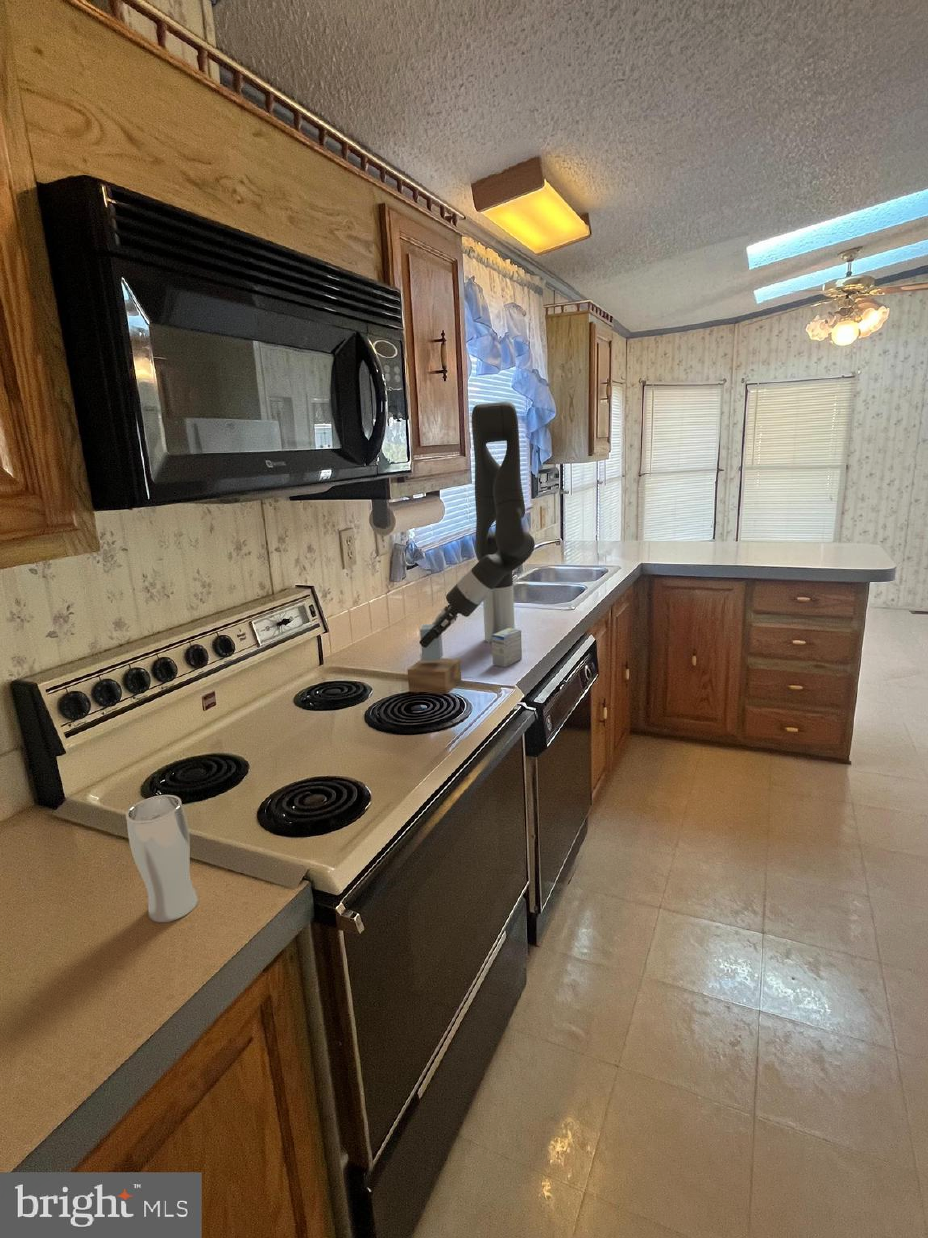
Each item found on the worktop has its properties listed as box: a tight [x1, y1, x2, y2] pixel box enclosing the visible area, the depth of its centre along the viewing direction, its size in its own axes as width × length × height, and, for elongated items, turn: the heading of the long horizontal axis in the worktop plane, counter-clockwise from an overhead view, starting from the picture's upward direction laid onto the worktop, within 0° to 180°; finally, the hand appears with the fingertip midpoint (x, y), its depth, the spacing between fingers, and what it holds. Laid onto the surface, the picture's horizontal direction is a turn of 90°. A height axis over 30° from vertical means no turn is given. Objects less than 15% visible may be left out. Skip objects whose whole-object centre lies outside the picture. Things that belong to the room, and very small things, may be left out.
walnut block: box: [407, 657, 462, 695], centre depth 162 cm, size 10×10×6 cm
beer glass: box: [125, 794, 198, 923], centre depth 85 cm, size 7×7×15 cm
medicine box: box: [491, 628, 523, 668], centre depth 177 cm, size 8×4×9 cm, turn 141°
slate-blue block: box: [419, 624, 444, 661], centre depth 161 cm, size 4×4×8 cm
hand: (423, 642), depth 161 cm, fingers closed on slate-blue block, 4 cm apart
